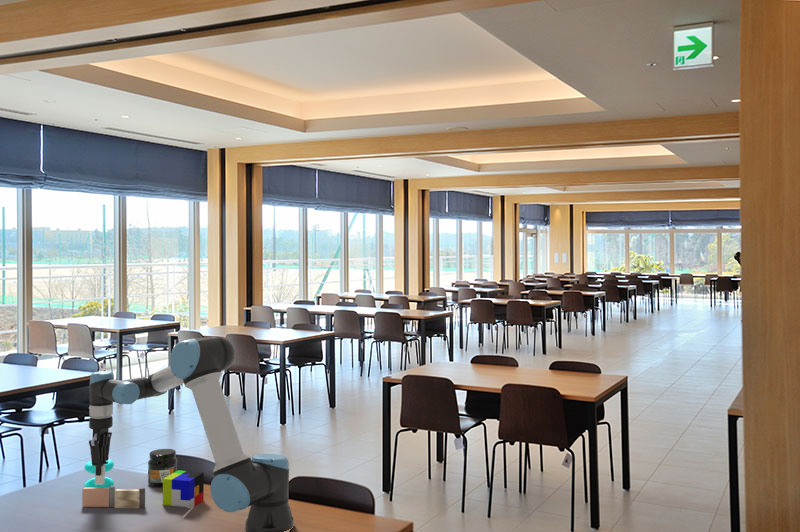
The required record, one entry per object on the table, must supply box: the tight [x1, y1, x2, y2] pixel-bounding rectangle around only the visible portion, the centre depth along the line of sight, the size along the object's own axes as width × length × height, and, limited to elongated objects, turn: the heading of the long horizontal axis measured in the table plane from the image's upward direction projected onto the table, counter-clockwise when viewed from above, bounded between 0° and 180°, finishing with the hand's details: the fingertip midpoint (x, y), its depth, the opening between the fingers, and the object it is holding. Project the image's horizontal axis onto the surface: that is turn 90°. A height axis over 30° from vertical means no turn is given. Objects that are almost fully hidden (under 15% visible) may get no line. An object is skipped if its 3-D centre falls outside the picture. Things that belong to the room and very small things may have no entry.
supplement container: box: [147, 448, 178, 488], centre depth 262 cm, size 10×10×12 cm
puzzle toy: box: [162, 469, 205, 511], centre depth 240 cm, size 10×10×10 cm
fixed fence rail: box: [114, 487, 146, 509], centre depth 233 cm, size 10×2×7 cm, turn 89°
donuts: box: [83, 458, 115, 488], centre depth 255 cm, size 10×10×10 cm
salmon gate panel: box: [81, 485, 116, 508], centre depth 233 cm, size 11×2×7 cm, turn 89°
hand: (99, 483), depth 240 cm, fingers closed
